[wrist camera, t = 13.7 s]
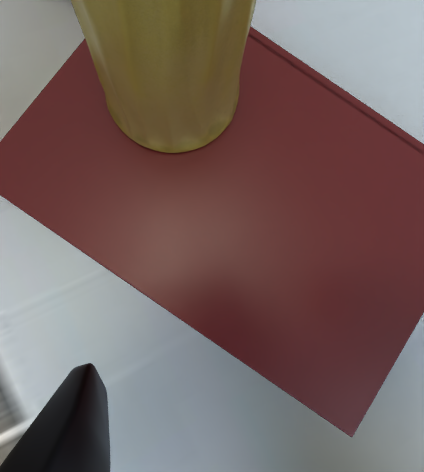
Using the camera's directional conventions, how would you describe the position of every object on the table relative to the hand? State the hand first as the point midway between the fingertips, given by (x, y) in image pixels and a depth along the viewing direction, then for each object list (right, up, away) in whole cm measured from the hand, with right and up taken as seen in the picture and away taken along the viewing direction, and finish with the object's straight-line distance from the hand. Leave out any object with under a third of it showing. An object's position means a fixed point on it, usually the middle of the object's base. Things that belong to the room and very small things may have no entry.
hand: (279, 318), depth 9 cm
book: (0, +4, +11) cm, 12 cm away
